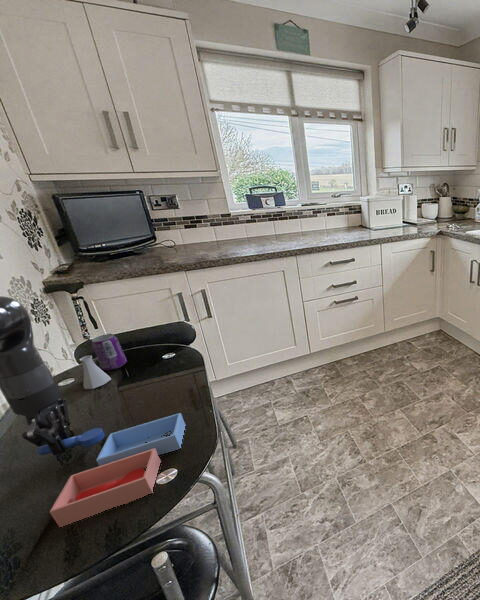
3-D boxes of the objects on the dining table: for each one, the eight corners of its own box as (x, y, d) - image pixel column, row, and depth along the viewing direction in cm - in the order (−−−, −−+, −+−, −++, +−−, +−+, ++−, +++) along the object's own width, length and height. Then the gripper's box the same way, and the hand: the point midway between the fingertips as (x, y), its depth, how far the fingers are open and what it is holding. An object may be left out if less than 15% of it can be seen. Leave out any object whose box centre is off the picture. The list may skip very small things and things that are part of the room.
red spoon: (73, 512, 65) (69, 504, 64) (83, 494, 68) (78, 487, 68) (145, 486, 69) (141, 479, 68) (150, 471, 73) (146, 464, 72)
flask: (91, 391, 106) (78, 365, 102) (78, 388, 108) (65, 362, 105) (116, 378, 112) (104, 353, 108) (103, 375, 115) (92, 351, 111)
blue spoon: (35, 462, 74) (30, 454, 73) (45, 448, 77) (41, 441, 77) (101, 442, 78) (97, 435, 77) (107, 431, 82) (104, 424, 81)
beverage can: (131, 360, 124) (119, 331, 120) (120, 370, 118) (107, 340, 113) (111, 362, 123) (98, 334, 119) (98, 373, 117) (84, 343, 112)
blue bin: (104, 475, 73) (96, 460, 72) (117, 448, 81) (109, 433, 79) (180, 449, 79) (174, 435, 77) (186, 426, 87) (180, 412, 85)
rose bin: (60, 528, 62) (49, 512, 61) (79, 490, 70) (70, 475, 68) (153, 494, 68) (145, 478, 66) (161, 462, 75) (155, 447, 74)
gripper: (24, 375, 76) (56, 434, 82) (-16, 411, 64) (25, 477, 70) (66, 367, 78) (94, 424, 84) (35, 399, 67) (70, 463, 73)
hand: (62, 448), depth 77 cm, fingers closed on blue spoon, 2 cm apart
